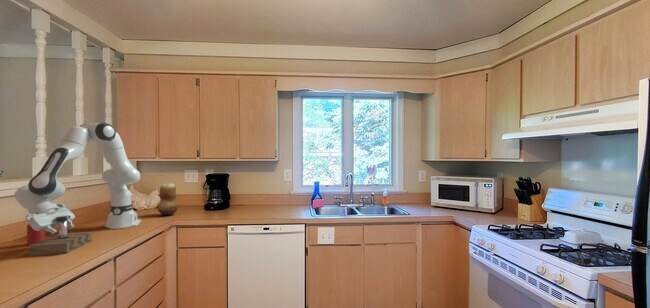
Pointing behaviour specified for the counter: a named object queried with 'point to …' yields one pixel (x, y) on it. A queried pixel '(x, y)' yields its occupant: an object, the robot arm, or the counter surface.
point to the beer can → (34, 235)
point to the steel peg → (62, 226)
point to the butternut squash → (168, 199)
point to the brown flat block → (60, 244)
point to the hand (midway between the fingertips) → (64, 230)
